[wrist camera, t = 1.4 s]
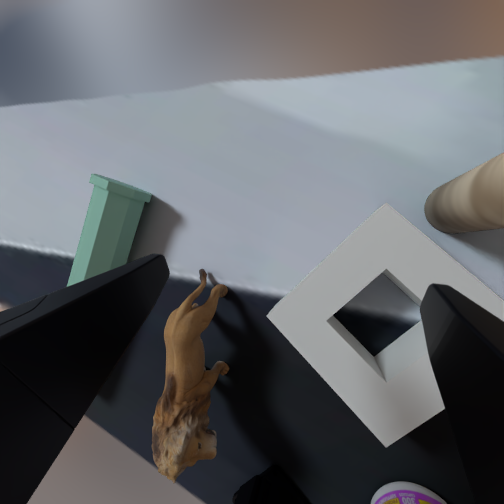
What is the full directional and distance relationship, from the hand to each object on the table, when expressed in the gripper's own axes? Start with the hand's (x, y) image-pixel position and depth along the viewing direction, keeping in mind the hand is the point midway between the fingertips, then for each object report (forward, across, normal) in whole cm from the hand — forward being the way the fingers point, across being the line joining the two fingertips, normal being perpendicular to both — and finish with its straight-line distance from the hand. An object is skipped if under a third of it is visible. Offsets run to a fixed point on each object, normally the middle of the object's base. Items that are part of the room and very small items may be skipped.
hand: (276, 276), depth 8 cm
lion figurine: (+7, +8, +16) cm, 19 cm away
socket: (+10, -6, +11) cm, 16 cm away
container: (+10, +23, +13) cm, 28 cm away
